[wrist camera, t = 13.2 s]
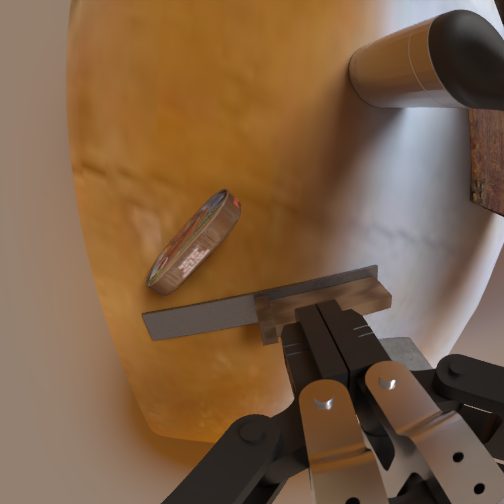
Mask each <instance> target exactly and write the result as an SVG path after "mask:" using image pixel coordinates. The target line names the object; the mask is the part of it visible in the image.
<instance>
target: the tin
mask: <svg viewBox="0 0 504 504" xmlns="http://www.w3.org/2000/svg"><path fill="white" fill-rule="evenodd" d="M240 213H241V205H240V202H239V201H238V200H237V199H236V198H235V197H233V196H232V195H231V194H230V193H229V191H228V190H227V189H223V190H221V191H219V192H218V193H216V194H215V195H213V196H212V197H211V198H210V199H209V200H208V201H207V202H206V203H205V204H204V205H203V206H202V207H201V208H200V209H199V210H198V211H197V212H196V214H195V215H194V216H193V217H192V218H191V219H190V220H189V221H188V222H187V224H186V225H185V226H184V227H183V228H182V229H181V230H180V231H179V232H178V234H177V235H176V236H175V237H174V238H173V239H172V240H171V241H170V243H169V244H168V245H167V246H166V247H165V249H164V250H163V251H162V253H161V254H160V255H159V257H158V258H157V260H156V261H155V263H154V265H153V267H152V268H151V270H150V273H149V275H148V277H147V280H146V286H147V287H150V288H152V289H153V290H154V291H156V292H157V293H159V294H161V295H162V296H167V295H170V294H171V293H173V292H174V291H175V290H176V289H178V288H179V287H180V286H181V285H182V284H183V283H184V281H185V280H186V279H187V278H188V277H189V276H190V275H191V274H192V273H193V272H194V271H195V270H196V269H197V268H198V267H199V266H200V265H201V264H202V263H203V262H204V261H205V260H206V258H207V257H208V256H209V255H210V254H211V253H212V252H213V251H214V250H215V249H216V248H217V247H218V246H219V245H220V244H221V243H222V242H223V240H224V239H225V238H226V237H227V236H228V234H229V233H230V232H231V230H232V229H233V227H234V226H235V224H236V222H237V221H238V218H239V216H240Z"/></svg>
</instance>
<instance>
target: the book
mask: <svg viewBox="0 0 504 504" xmlns="http://www.w3.org/2000/svg"><path fill="white" fill-rule="evenodd" d="M468 113H469V125H470V144H471V191H470V201H471V202H472V203H475V204H477V205H479V206H481V207H484V208H486V209H488V210H490V211H492V212H494V213H496V214H498V215H501V216H503V217H504V111H499V110H488V109H470V108H468Z"/></svg>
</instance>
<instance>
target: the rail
mask: <svg viewBox="0 0 504 504" xmlns="http://www.w3.org/2000/svg"><path fill="white" fill-rule="evenodd" d="M377 272H378V266H377V265H372V266H368V267H364V268H360V269H356V270H352V271H348V272H343V273H339V274H335V275H331V276H326V277H322V278H318V279H313V280H309V281H304V282H300V283H295V284H291V285H286V286H281V287H277V288H272V289H267V290H263V291H258V292H253V293H248V294H243V295H238V296H233V297H228V298H223V299H218V300H213V301H208V302H202V303H197V304H192V305H186V306H181V307H175V308H170V309H164V310H158V311H152V312H147V313H142V317H143V319H144V321H145V323H146V326H147V328H148V330H149V333H150V335H151V337H152V339H153V341H154V340H161V339H168V338H174V337H180V336H186V335H193V334H198V333H204V332H210V331H215V330H221V329H226V328H232V327H237V326H242V325H247V324H252V323H257V322H258V317H257V312H256V307H255V302H254V297H259V296H264V295H268V298H269V300H274V299H278V298H283V297H287V296H292V295H296V294H301V293H305V292H310V291H314V290H318V289H323V288H327V287H331V286H335V285H339V284H344V283H348V282H352V281H356V280H360V279H364V278H368V277H371V276H374V277H375V278H376V279H377Z"/></svg>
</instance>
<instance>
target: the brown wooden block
mask: <svg viewBox="0 0 504 504" xmlns="http://www.w3.org/2000/svg"><path fill="white" fill-rule="evenodd" d="M332 299H335V300H336V301H337V303H338V304H339V306H340V308H341V309H342V311H344V310H348V309H352V310H354V311H356V312H357V313H359V314H361V315H362V316H363V315H367V314H370V313H374V312H377V311H381V310H384V309H387V308H391V301H392V295H391V294H390V293H389V292H388V291H387V290H386V289H385V287H384V286H383V285H382V284H381V283H380V282H379V281H378V280H377V279H376V278H375V277H374V276H371V277H368V278H364V279H360V280H356V281H352V282H348V283H344V284H339V285H335V286H331V287H327V288H323V289H318V290H314V291H310V292H305V293H301V294H296V295H292V296H287V297H283V298H278V299H274V300H269V298H268V295H264V296H259V297H254V302H255V307H256V312H257V317H258V322H259V327H260V332H261V336H262V341H263V345H269V344H274V343H278V338H277V337H279V336H281V333H282V330H283V326H284V325H287V324H291V323H296V319H295V308H299V307H303V306H308V305H312V304H316V303H320V302H324V301H328V300H332Z"/></svg>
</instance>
